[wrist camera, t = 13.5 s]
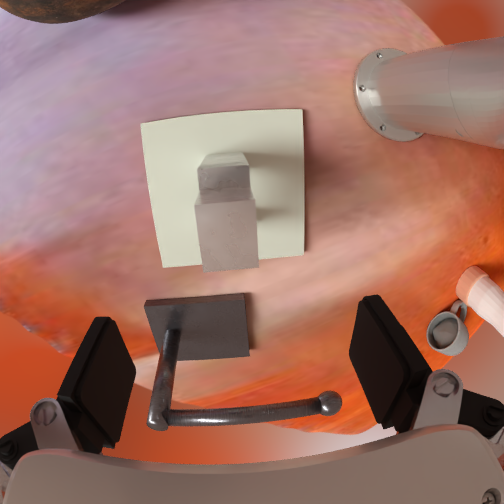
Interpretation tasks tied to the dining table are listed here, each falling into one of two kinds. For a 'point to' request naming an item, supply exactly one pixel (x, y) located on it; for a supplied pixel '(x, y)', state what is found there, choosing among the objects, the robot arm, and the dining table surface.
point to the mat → (261, 177)
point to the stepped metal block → (226, 214)
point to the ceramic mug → (449, 331)
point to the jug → (57, 9)
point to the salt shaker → (482, 296)
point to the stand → (211, 347)
